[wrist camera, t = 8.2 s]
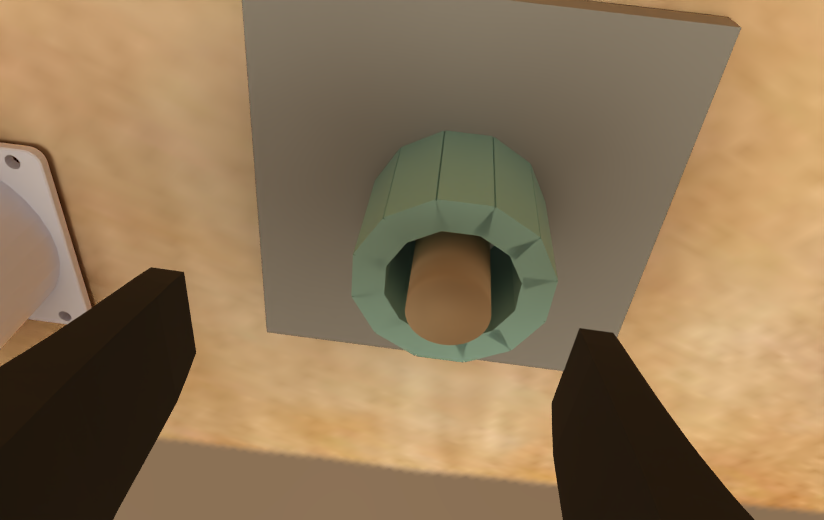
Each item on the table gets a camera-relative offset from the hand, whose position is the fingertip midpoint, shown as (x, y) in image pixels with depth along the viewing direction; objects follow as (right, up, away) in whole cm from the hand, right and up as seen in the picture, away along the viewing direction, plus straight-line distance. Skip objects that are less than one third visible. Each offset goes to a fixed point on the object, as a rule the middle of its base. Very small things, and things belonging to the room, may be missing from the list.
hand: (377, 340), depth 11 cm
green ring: (+2, +3, +8) cm, 9 cm away
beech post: (+2, +3, +8) cm, 9 cm away
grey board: (+2, +4, +9) cm, 10 cm away
